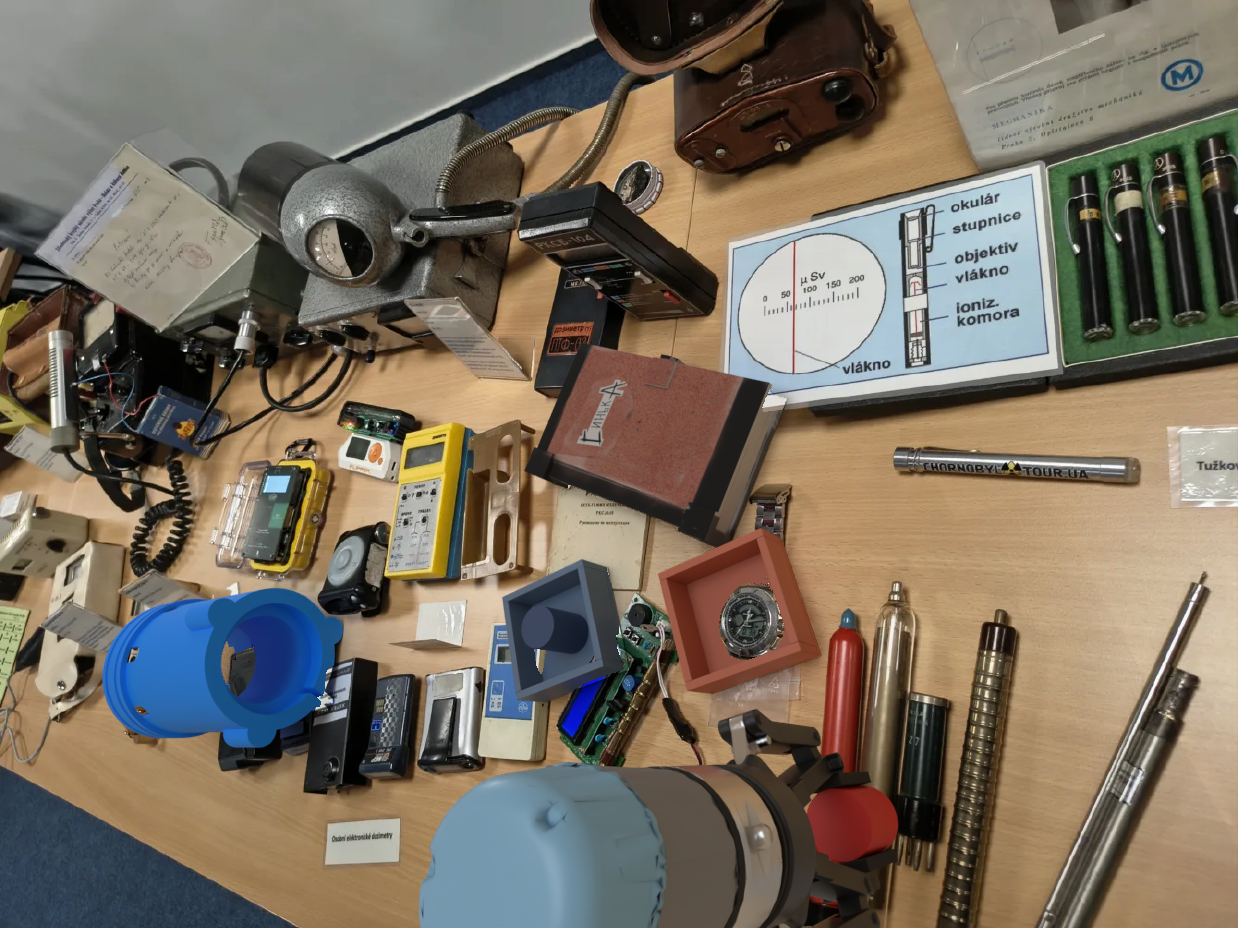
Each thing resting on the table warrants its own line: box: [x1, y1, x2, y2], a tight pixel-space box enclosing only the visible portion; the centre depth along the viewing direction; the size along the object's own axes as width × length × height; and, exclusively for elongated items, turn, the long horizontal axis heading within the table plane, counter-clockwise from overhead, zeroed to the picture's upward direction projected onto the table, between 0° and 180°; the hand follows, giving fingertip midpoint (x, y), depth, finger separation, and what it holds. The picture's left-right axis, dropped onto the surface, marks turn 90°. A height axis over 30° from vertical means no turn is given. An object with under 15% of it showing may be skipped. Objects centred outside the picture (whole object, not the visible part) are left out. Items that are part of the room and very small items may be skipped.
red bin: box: [657, 527, 822, 695], centre depth 71 cm, size 12×12×5 cm
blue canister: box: [521, 606, 588, 654], centre depth 81 cm, size 4×4×6 cm
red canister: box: [806, 784, 899, 863], centre depth 52 cm, size 4×4×6 cm
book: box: [523, 342, 784, 548], centre depth 83 cm, size 26×18×5 cm
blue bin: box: [501, 558, 624, 703], centre depth 82 cm, size 12×12×5 cm
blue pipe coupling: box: [101, 587, 344, 748], centre depth 105 cm, size 25×22×19 cm
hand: (864, 819), depth 54 cm, fingers closed on red canister, 4 cm apart
